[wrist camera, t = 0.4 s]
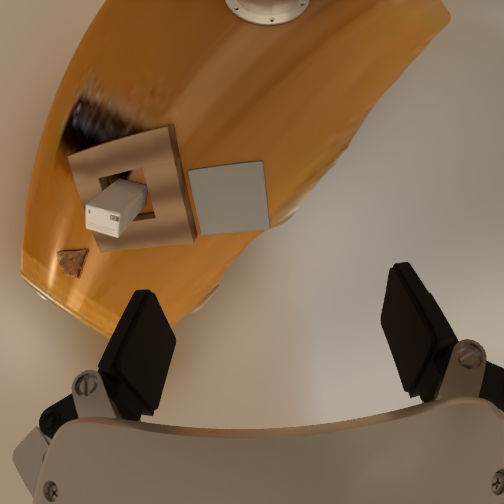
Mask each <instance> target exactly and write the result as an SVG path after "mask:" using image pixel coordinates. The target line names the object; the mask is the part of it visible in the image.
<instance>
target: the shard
mask: <svg viewBox="0 0 504 504" xmlns="http://www.w3.org/2000/svg"><path fill="white" fill-rule="evenodd" d="M56 254H57V258H58V262H59V264H60V266H61V268H62V270H63V273H64V275H65V276H72V277H77V278H80V276H81V272H82V268H83V266H84V263H85V260H86V258H87V255H88V249H82V250H78V251H67V252H65V251H62V252H61V251H60V252H57V253H56Z"/></svg>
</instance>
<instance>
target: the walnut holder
mask: <svg viewBox="0 0 504 504" xmlns="http://www.w3.org/2000/svg"><path fill="white" fill-rule="evenodd" d="M68 159H69V163H70V167H71V170H72V174H73V177H74V180H75V184H76V187H77V190H78V193H79V196H80V199H81V202H82V205H83V208H84V211H85V214H86V204H87V203H88V202H89V201H91V200H92V199H93V198H94V197H96V196H97V195H98V194H100V193H101V192H102V191H103V190H105V189H106V188H107V187H109V186H110V184H109V180H108V177H107V176H109V175H113V174H117V173H121V172H125V171H130V170H134V169H139V168H143V171H144V175H145V179H146V183H147V187H148V191H149V195H150V198H151V202H152V205H153V209H154V212H149V213H143V214H138V215H137V216H136V217H135V218H134V220H133V221H132V222H131V223H130V224H129V226H128V227H127V228H126V229H125V230H124V232H123V233H122V234H121V235H120V237H119V238H116V237H113V236H110V235H107V234H103V233H100V232H97V231H93V230H92V232H93V235H94V238H95V240H96V243H97V245H98V247H99V250H100V252H110V251H120V250H129V249H139V248H149V247H159V246H169V245H180V244H190V243H194V241H195V239H196V236H197V231H196V227H195V223H194V219H193V215H192V210H191V206H190V202H189V197H188V193H187V188H186V184H185V179H184V174H183V170H182V165H181V160H180V155H179V150H178V145H177V140H176V135H175V130H174V124H173V125H168V126H164V127H160V128H155V129H151V130H147V131H143V132H140V133H136V134H132V135H129V136H125V137H122V138H118V139H115V140H112V141H108V142H105V143H102V144H99V145H96V146H93V147H90V148H87V149H84V150H82V151H79V152H76V153H74V154H72V155H70V156H68Z"/></svg>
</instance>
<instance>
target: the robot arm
mask: <svg viewBox="0 0 504 504" xmlns="http://www.w3.org/2000/svg"><path fill="white" fill-rule="evenodd" d="M309 1H310V0H225V2H226V4H227V6H228V7H229V9H230V10H231V11H232V12H233V13H234V14H235V15H236V16H237V17H239V18H241V19H242V20H244V21H247V22H249V23H253V24H256V25H264V26H275V25H280V24H284V23H287V22H290V21H292V20H294V19H296V18H297V17H299V16H300V15H301V14H302V13H303V12H304V11H305V9H306V8H307V6H308V4H309ZM300 4H303V5H304V6H301V5H300ZM235 9H238V10H235ZM270 20H273V21H274V22H270ZM381 325H382V328H383V331H384V333H385V336H386V339H387V341H388V344H389V347H390V350H391V353H392V355H393V358H394V361H395V364H396V367H397V370H398V373H399V376H400V379H401V382H402V385H403V388H404V391H405V392H409V395H410V398H412V397H416V396H419V395H420V398H421V400H422V404H419V405H415V406H412V407H408V408H404V409H400V410H396V411H391V412H387V413H382V414H378V415H373V416H368V417H363V418H358V419H353V420H347V421H341V422H334V423H327V424H320V425H310V426H301V427H290V428H273V429H206V428H191V427H179V426H169V425H160V424H152V423H145V422H141V420H140V418H141V414H142V415H149V416H153V414H154V410H156V409H157V408H158V406H159V403H160V399H161V395H162V391H163V388H164V384H165V380H166V376H167V373H168V369H169V365H170V362H171V359H172V355H173V352H174V348H175V345H176V338H175V335H174V333H173V331H172V329H171V327H170V325H169V323H168V321H167V319H166V317H165V315H164V313H163V310H162V308H161V306H160V304H159V302H158V300H157V297H156V295H155V294H154V293H152V292H151V291H150V290H136V291H135V292H134V294H133V296H132V298H131V299H130V301H129V303H128V305H127V307H126V309H125V311H124V313H123V315H122V317H121V319H120V321H119V323H118V325H117V327H116V329H115V331H114V333H113V335H112V337H111V339H110V341H109V343H108V345H107V347H106V349H105V352H104V354H103V356H102V358H101V360H100V362H99V365H98V367H99V369H98V372H97V371H94V370H86V371H84V372H82V373H80V374H79V375H78V376H77V377H76V378H75V380H74V382H73V384H72V394H70V395H68V396H67V397H65V398H64V399H62V400H60V401H59V402H57V403H55V404H54V405H52V406H50V407H49V408H47V409H46V410H45V411H44V412H43V413H42V414H41V417H40V420H39V428H38V427H37V426H36V427H35V428H34V429H33V430H32V431H31V432H30V433H29V434H28V435H27V436H26V438H25V439H24V440H23V441H22V442H21V443H20V444H19V445H18V446H17V447H16V449H15V450H14V453H13V462H14V464H15V466H16V468H17V470H18V472H19V474H20V476H21V477H22V479H23V481H24V483H25V485H26V486H27V488H28V490H29V491H30V493H31V495H32V496H33V498H34V499H33V504H504V368H502V367H499V366H497V365H495V364H492V363H490V362H488V361H486V353H485V350H484V349H483V347H482V346H481V345H480V344H479V343H477V342H475V341H473V340H469V339H466V340H461V341H458V339H457V337H456V335H455V334H454V332H453V330H452V328H451V326H450V325H449V323H448V321H447V319H446V318H445V316H444V315H443V312H442V311H441V309H440V307H439V306H438V304H437V302H436V301H435V299H434V297H433V296H432V295H431V293H429V292H428V291H427V289H426V288H425V286H424V285H423V283H422V281H421V280H420V278H419V277H418V275H417V274H416V272H415V271H414V269H413V268H412V267H411V265H410V263H409V262H403V263H396V264H394V266H393V268H390V270H389V275H388V281H387V287H386V294H385V298H384V304H383V309H382V313H381Z"/></svg>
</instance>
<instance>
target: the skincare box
mask: <svg viewBox="0 0 504 504" xmlns="http://www.w3.org/2000/svg"><path fill="white" fill-rule="evenodd" d="M147 190H148V187H147V185H143V184H139V183H135V182H132V181H128V180H124V179H118V180H117V181H115V182H114V183H113V184H111V185H110V186H109V187H107V188H106V189H105V190H103V191H102V192H101V193H100V194H98V195H97V196H96V197H94V198H93V199H92V200H91V201H89V202H88V203H87V204H86V228H87V229H90V230H93V231H97V232H100V233H103V234H107V235H110V236H113V237H116V238H119V237H120V235H121V234H122V233H123V232H124V230H125V229H126V228H127V227H128V226H129V224H130V223H131V222H132V221H133V220H134V218H135V217H136V216H137V215H138V214H139V213H140V211H141V210H142V209H143V208H144V207H145V202H146V196H147Z"/></svg>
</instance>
